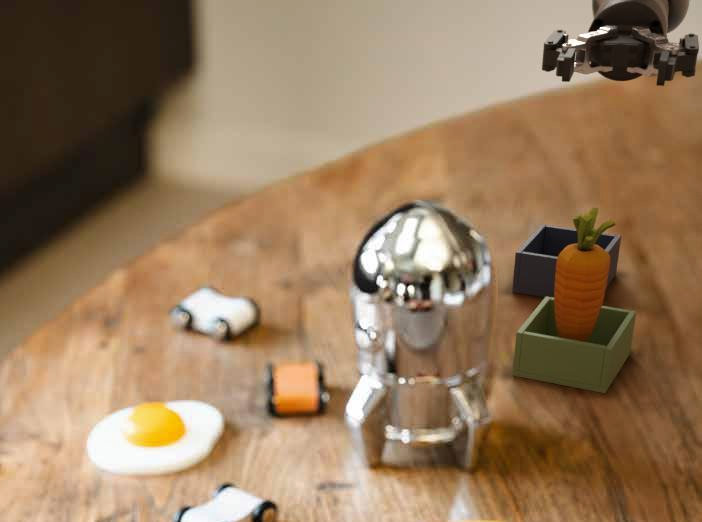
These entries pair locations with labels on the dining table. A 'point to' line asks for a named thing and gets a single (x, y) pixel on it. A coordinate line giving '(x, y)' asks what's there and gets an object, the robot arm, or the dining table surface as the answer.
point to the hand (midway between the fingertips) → (613, 72)
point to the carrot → (581, 280)
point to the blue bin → (552, 258)
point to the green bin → (573, 349)
